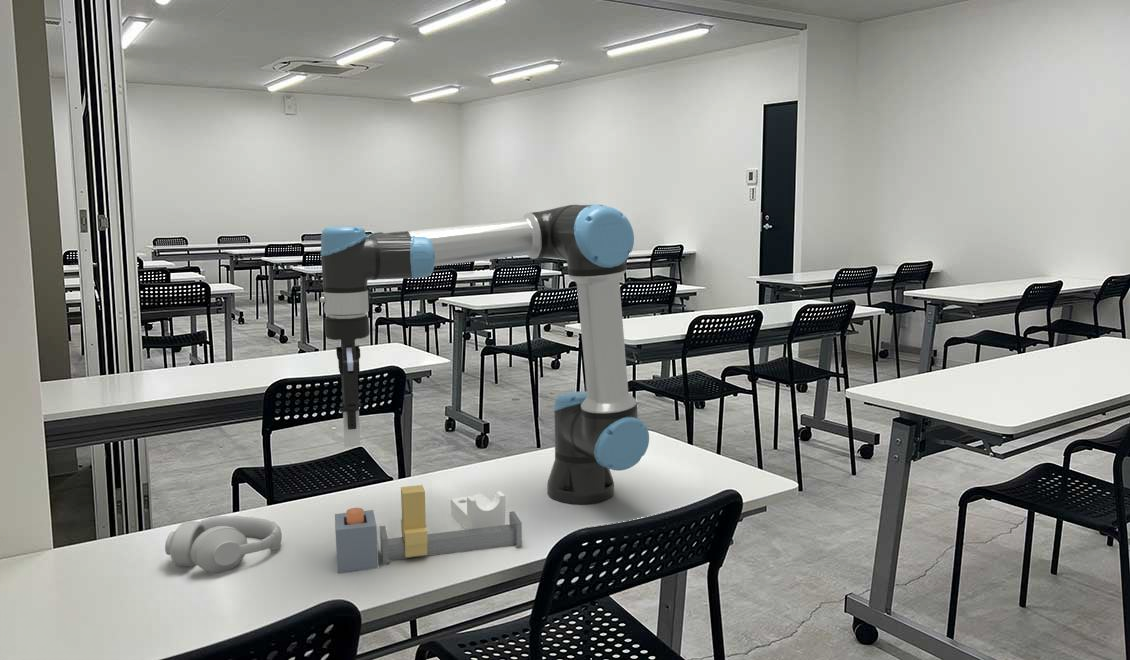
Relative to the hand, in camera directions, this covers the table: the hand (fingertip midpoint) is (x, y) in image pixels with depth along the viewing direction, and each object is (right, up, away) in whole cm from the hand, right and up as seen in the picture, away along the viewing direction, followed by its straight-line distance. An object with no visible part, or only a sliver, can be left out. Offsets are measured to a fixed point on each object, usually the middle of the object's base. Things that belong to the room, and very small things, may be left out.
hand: (352, 444), depth 150 cm
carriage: (+10, -21, +7) cm, 25 cm away
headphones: (-25, -22, +7) cm, 34 cm away
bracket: (+20, -19, +22) cm, 36 cm away
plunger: (0, -17, +3) cm, 18 cm away
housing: (0, -22, +3) cm, 22 cm away
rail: (+17, -21, +9) cm, 28 cm away
